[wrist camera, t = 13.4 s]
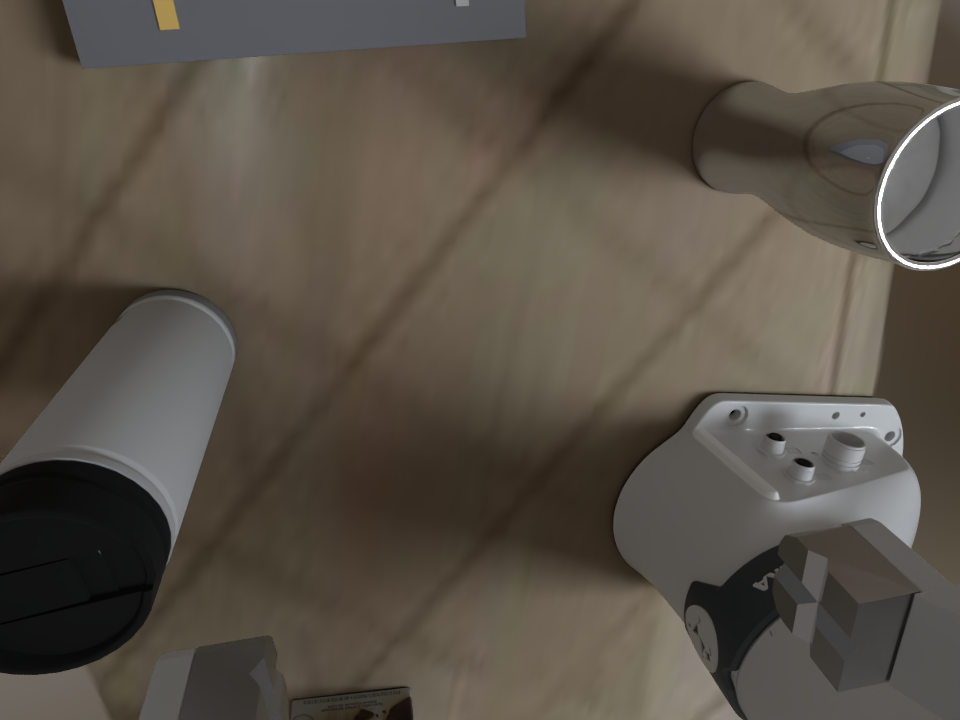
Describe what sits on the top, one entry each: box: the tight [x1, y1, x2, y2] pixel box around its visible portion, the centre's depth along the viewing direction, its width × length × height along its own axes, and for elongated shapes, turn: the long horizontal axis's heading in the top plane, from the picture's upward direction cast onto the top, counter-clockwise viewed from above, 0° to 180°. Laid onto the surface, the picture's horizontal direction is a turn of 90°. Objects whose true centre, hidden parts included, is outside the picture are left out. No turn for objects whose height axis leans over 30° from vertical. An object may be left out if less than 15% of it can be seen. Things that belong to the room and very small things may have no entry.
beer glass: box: [692, 81, 960, 271], centre depth 32 cm, size 7×7×15 cm
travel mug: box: [0, 290, 237, 675], centre depth 28 cm, size 6×7×20 cm
